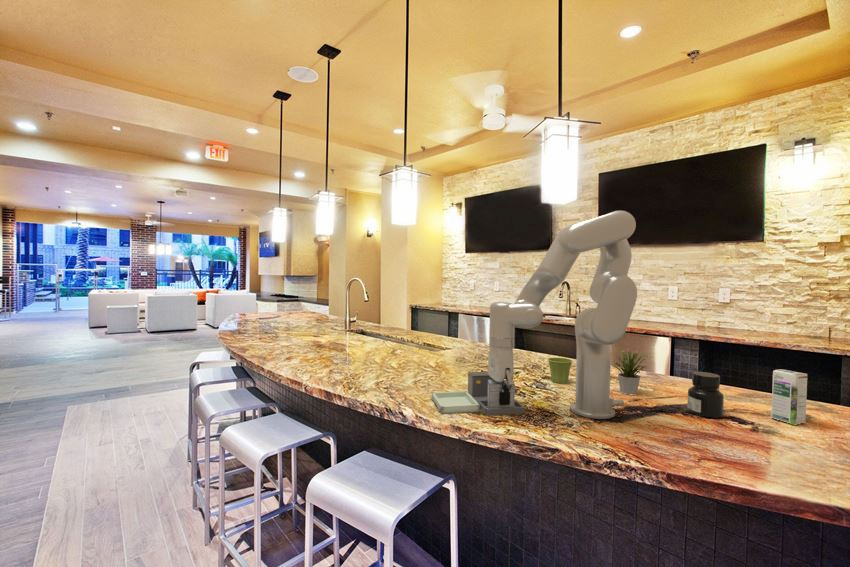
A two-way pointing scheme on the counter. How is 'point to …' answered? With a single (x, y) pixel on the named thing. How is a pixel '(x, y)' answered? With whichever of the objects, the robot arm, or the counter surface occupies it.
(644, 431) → the counter surface
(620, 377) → the house plant
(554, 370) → the plant pot
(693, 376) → the ink bottle
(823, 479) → the counter surface
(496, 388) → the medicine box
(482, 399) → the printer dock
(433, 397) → the tray
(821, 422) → the counter surface
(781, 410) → the syrup box
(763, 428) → the counter surface
